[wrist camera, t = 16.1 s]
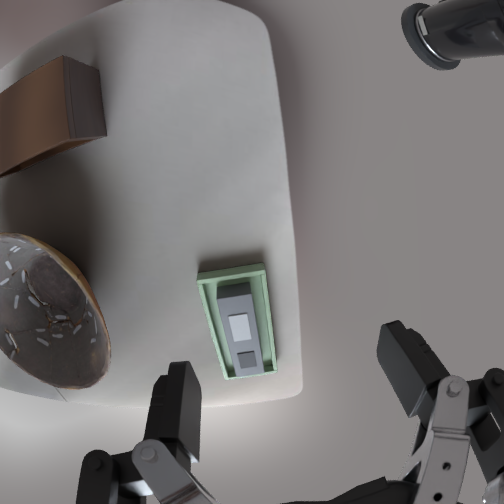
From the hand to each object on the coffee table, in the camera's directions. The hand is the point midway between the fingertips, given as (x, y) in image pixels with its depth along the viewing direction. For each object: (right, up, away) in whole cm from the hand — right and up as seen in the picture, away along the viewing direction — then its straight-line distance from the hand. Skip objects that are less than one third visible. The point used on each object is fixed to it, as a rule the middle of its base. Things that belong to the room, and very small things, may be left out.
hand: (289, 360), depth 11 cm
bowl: (-31, -1, +24) cm, 39 cm away
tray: (-3, -6, +29) cm, 30 cm away
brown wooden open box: (-27, +21, +15) cm, 37 cm away
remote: (-3, -7, +29) cm, 30 cm away
